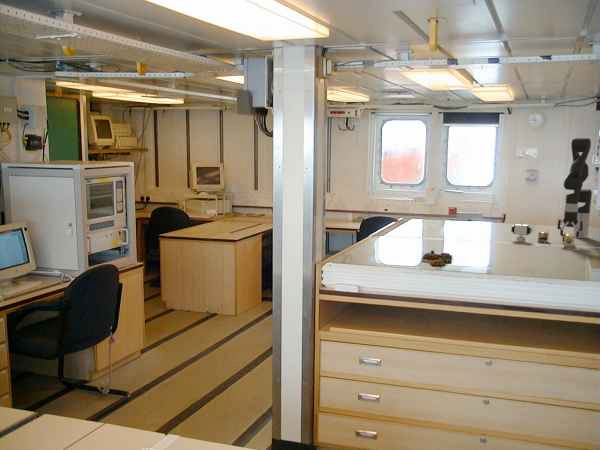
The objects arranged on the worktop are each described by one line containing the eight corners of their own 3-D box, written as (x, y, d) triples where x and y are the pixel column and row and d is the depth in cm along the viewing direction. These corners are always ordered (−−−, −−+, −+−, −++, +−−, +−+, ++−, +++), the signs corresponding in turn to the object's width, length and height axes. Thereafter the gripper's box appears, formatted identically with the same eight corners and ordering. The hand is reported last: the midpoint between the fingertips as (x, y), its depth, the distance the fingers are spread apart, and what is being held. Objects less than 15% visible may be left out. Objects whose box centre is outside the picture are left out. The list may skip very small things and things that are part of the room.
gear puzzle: (451, 268, 309) (452, 260, 308) (419, 266, 313) (419, 258, 312) (452, 257, 339) (452, 250, 338) (422, 256, 343) (423, 249, 342)
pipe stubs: (539, 241, 401) (539, 230, 400) (572, 243, 391) (573, 232, 390) (537, 242, 396) (538, 231, 395) (571, 245, 386) (572, 233, 385)
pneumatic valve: (529, 242, 392) (530, 224, 391) (510, 241, 399) (511, 222, 397) (531, 241, 397) (532, 223, 395) (512, 240, 403) (513, 222, 402)
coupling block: (564, 245, 385) (565, 234, 384) (573, 245, 383) (574, 234, 382) (563, 246, 380) (564, 235, 379) (572, 247, 377) (573, 236, 376)
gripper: (584, 211, 378) (582, 236, 380) (559, 209, 385) (557, 235, 387) (583, 212, 372) (581, 238, 374) (558, 210, 379) (556, 236, 380)
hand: (569, 236), depth 380 cm, fingers open, 8 cm apart
